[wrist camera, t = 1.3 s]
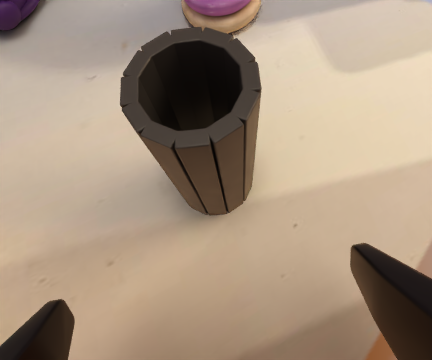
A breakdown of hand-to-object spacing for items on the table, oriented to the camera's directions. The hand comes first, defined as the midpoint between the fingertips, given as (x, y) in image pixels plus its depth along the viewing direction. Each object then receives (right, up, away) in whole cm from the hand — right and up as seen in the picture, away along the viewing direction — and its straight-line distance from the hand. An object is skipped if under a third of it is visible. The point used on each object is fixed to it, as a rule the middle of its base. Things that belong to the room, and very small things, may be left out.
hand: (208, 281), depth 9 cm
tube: (0, +3, +16) cm, 16 cm away
